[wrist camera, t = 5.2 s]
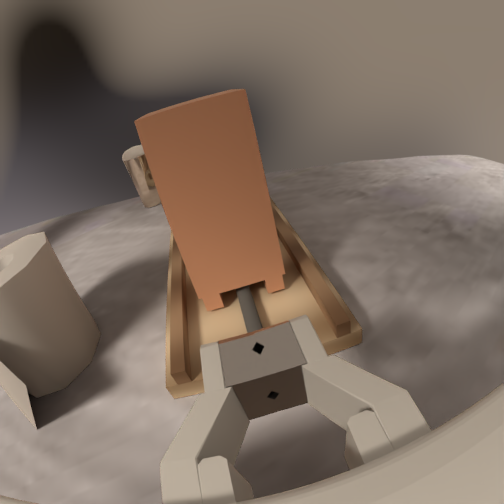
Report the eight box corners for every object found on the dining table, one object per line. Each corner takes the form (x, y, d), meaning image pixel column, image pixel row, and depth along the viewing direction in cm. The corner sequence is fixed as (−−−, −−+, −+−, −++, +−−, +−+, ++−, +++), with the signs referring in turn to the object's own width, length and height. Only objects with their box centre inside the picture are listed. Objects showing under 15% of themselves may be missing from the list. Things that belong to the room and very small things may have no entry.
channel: (361, 342, 17) (360, 211, 12) (174, 398, 16) (101, 287, 12) (259, 189, 40) (245, 127, 35) (176, 213, 39) (156, 153, 35)
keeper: (287, 287, 20) (245, 89, 14) (204, 312, 20) (134, 121, 13) (269, 249, 24) (231, 89, 18) (199, 270, 24) (147, 114, 18)
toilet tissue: (32, 453, 13) (-64, 365, 8) (15, 347, 22) (-35, 275, 18) (133, 389, 17) (56, 279, 13) (84, 301, 26) (42, 223, 22)
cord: (270, 352, 16) (267, 341, 16) (254, 357, 16) (250, 346, 16) (220, 198, 37) (219, 191, 36) (213, 200, 36) (211, 193, 36)
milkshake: (155, 211, 42) (131, 143, 37) (135, 209, 45) (112, 148, 40) (178, 196, 45) (157, 132, 39) (156, 195, 48) (137, 137, 43)
